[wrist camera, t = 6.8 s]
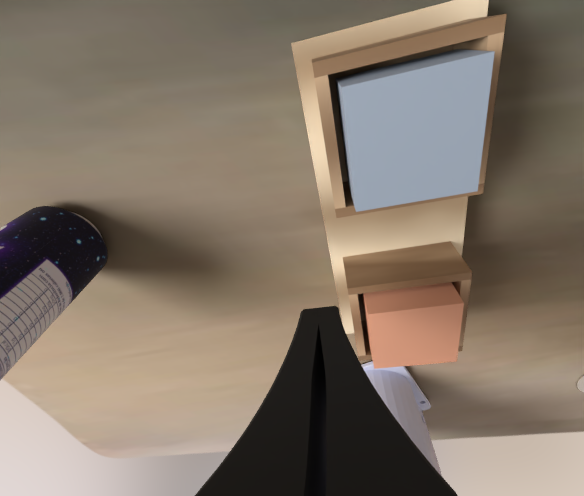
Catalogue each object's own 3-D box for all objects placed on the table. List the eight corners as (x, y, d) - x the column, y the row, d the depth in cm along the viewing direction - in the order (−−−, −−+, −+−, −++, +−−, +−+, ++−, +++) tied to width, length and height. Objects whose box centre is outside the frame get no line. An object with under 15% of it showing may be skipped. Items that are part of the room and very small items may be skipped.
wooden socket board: (444, 302, 24) (473, 357, 20) (342, 314, 25) (348, 368, 21) (467, -4, 14) (536, -23, 10) (293, 43, 15) (287, 43, 11)
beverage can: (67, 186, 20) (-177, 331, 10) (130, 250, 22) (-11, 415, 13) (14, 221, 22) (-239, 375, 12) (79, 277, 24) (-81, 441, 14)
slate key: (449, 166, 15) (477, 191, 12) (348, 184, 15) (355, 212, 13) (456, 49, 12) (494, 51, 10) (335, 78, 13) (341, 87, 10)
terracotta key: (439, 322, 21) (456, 361, 18) (366, 330, 21) (374, 368, 19) (442, 267, 18) (463, 303, 16) (360, 278, 19) (367, 314, 16)
